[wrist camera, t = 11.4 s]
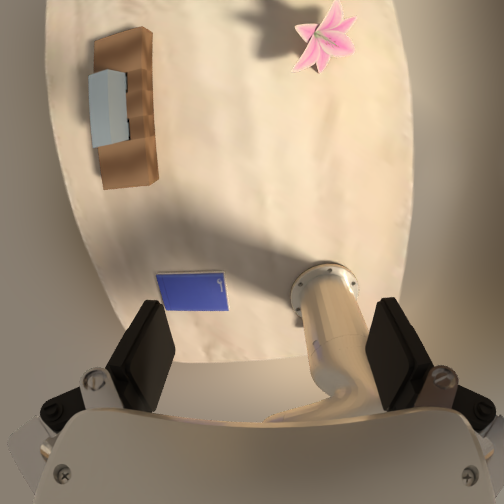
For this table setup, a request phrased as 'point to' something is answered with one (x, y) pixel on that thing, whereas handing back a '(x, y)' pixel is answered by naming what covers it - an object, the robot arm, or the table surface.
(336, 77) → the table surface
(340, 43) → the lily
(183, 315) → the table surface
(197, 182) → the table surface
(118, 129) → the light blue arch block
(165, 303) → the hard drive
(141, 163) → the brown block with holes
